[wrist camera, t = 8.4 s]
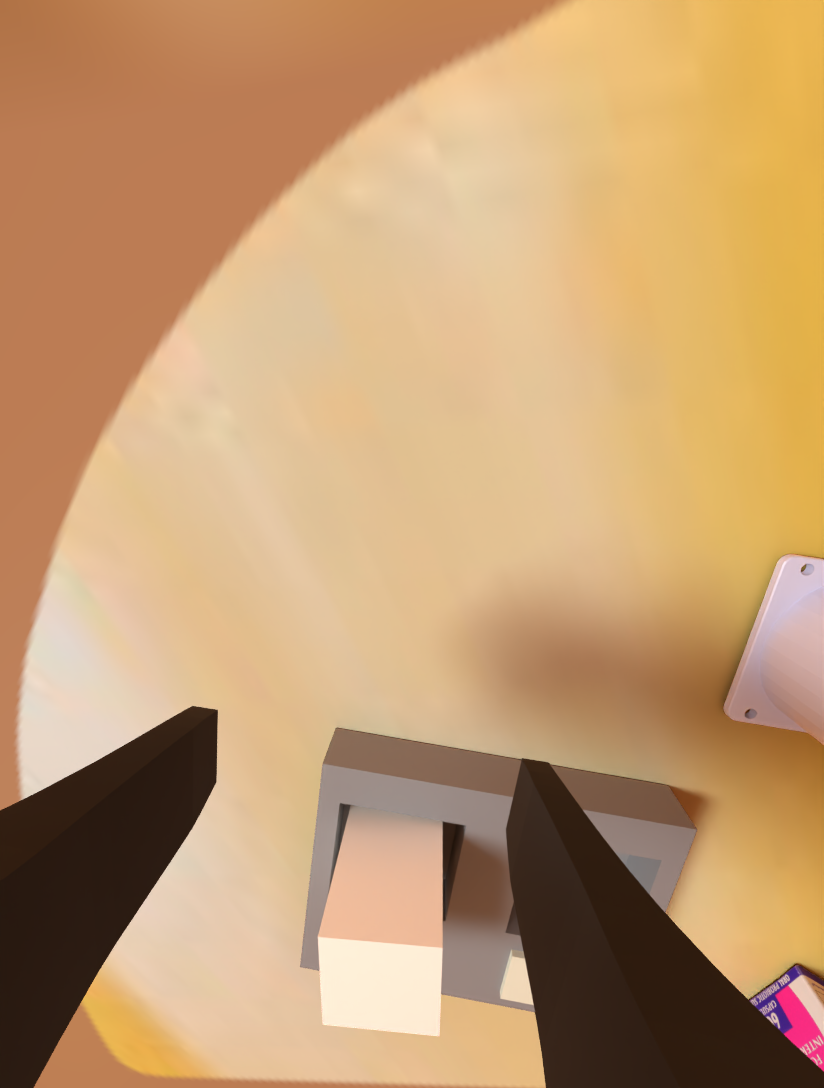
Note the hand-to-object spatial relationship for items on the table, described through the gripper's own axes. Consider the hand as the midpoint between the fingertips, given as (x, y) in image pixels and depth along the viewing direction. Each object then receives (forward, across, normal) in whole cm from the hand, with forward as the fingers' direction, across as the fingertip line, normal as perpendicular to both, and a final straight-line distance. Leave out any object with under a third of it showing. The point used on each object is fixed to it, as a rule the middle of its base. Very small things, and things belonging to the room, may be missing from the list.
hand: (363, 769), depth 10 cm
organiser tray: (+10, -6, +14) cm, 18 cm away
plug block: (+10, -1, +12) cm, 16 cm away
